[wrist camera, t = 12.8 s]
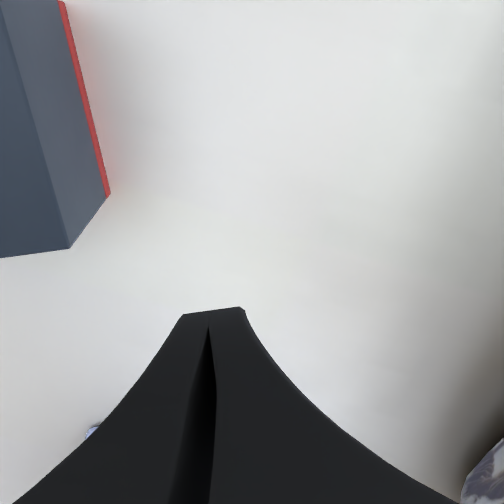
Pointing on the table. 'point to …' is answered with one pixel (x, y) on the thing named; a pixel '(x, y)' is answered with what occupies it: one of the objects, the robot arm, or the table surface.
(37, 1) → the two-tone lidded box
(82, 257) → the table surface
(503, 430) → the table surface
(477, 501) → the decorative bird
